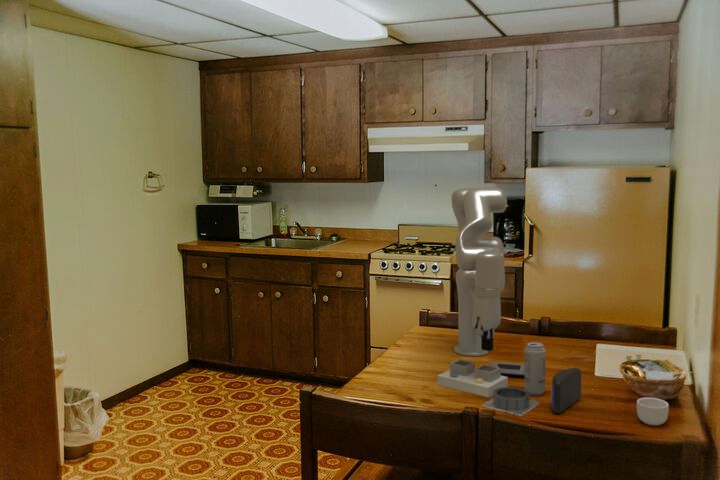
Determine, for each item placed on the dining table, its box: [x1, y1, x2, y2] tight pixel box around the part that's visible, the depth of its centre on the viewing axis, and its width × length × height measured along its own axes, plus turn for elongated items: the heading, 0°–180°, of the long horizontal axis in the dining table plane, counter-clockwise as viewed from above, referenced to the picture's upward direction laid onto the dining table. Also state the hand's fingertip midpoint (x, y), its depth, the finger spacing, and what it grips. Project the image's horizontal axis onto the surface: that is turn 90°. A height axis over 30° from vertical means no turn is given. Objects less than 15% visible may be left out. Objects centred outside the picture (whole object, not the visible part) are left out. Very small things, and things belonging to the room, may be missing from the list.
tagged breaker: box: [479, 366, 496, 372], centre depth 196 cm, size 4×4×2 cm
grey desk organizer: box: [437, 359, 509, 398], centre depth 198 cm, size 12×18×6 cm, turn 49°
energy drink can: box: [524, 341, 547, 397], centre depth 190 cm, size 6×6×15 cm
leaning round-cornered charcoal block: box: [550, 367, 582, 415], centre depth 181 cm, size 16×5×9 cm, turn 140°
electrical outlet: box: [488, 360, 525, 378], centre depth 210 cm, size 13×10×2 cm
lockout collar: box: [481, 386, 541, 417], centre depth 182 cm, size 12×12×4 cm
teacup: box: [636, 397, 670, 426], centre depth 169 cm, size 10×8×5 cm
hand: (487, 349), depth 196 cm, fingers closed
